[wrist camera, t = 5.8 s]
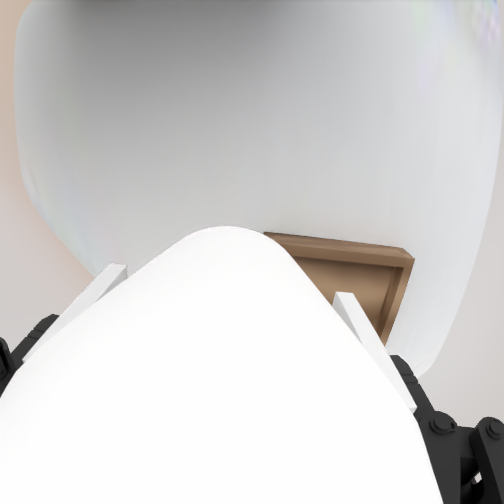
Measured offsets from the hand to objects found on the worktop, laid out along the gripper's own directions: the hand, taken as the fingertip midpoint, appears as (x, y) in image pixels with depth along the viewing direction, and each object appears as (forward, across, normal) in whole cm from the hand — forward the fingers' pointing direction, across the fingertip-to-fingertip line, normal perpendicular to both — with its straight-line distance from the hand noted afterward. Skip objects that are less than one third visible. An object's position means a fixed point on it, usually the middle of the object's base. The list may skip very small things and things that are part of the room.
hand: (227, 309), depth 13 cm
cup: (+1, 0, 0) cm, 1 cm away
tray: (+18, +10, -9) cm, 23 cm away
